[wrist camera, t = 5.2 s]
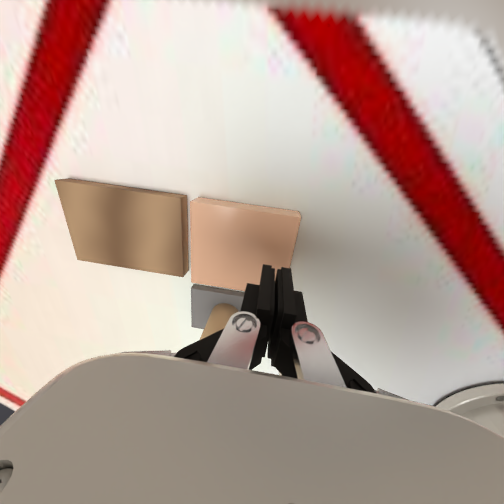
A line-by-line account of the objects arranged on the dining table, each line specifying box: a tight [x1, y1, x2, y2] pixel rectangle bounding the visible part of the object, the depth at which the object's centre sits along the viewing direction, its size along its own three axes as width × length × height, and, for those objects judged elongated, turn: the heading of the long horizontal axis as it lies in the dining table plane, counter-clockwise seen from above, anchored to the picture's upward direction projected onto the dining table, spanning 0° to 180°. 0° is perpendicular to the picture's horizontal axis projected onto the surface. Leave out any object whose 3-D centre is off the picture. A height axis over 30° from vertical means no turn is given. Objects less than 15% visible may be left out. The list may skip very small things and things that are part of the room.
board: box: [55, 179, 188, 277], centre depth 17 cm, size 10×7×1 cm
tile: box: [190, 197, 301, 291], centre depth 17 cm, size 2×7×8 cm
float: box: [191, 284, 245, 340], centre depth 17 cm, size 7×5×8 cm
